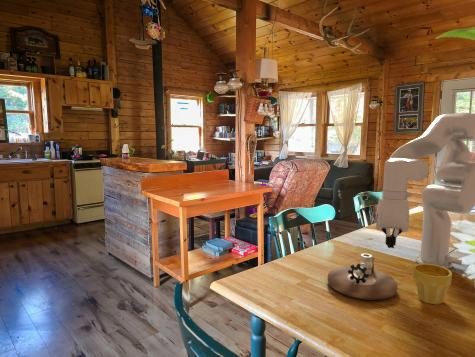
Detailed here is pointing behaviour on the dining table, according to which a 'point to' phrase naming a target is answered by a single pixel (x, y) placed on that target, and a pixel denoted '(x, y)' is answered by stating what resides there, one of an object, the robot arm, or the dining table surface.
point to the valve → (362, 268)
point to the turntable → (363, 284)
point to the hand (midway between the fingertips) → (390, 246)
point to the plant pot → (432, 282)
